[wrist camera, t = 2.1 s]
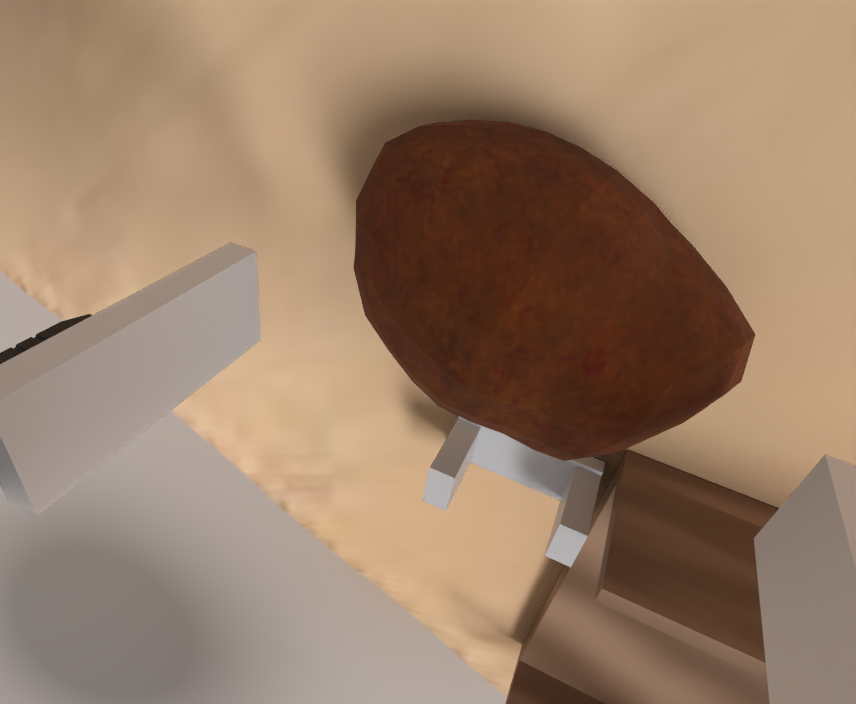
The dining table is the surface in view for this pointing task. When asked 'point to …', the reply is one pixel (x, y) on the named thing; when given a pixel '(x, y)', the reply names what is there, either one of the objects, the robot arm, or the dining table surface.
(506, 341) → the potato
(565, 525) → the clip
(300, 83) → the dining table surface
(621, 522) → the holder
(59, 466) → the robot arm
